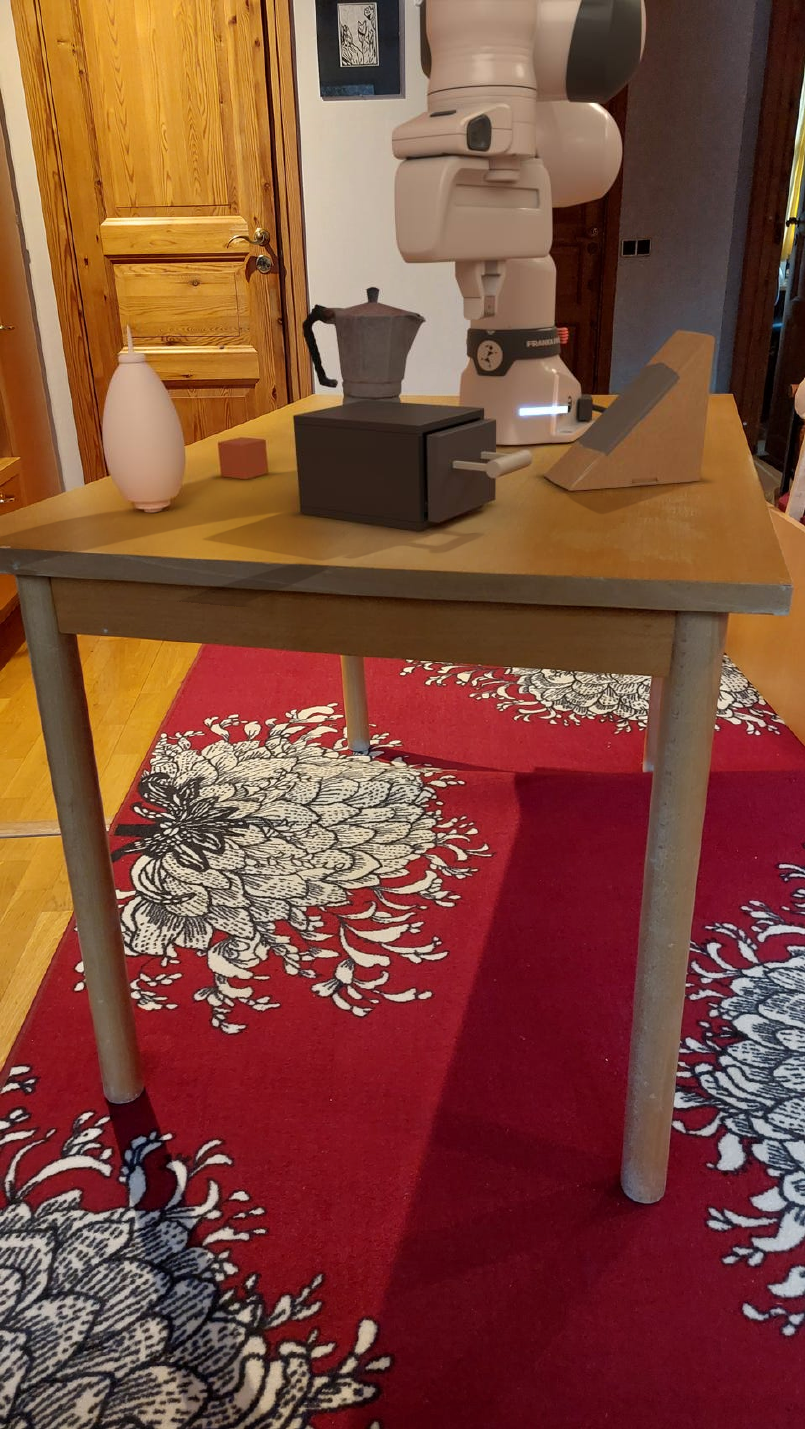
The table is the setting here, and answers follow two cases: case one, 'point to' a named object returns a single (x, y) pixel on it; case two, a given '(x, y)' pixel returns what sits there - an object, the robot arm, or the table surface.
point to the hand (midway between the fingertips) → (480, 318)
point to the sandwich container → (648, 424)
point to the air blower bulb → (142, 434)
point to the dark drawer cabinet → (369, 460)
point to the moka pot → (366, 347)
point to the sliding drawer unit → (464, 467)
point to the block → (243, 458)
